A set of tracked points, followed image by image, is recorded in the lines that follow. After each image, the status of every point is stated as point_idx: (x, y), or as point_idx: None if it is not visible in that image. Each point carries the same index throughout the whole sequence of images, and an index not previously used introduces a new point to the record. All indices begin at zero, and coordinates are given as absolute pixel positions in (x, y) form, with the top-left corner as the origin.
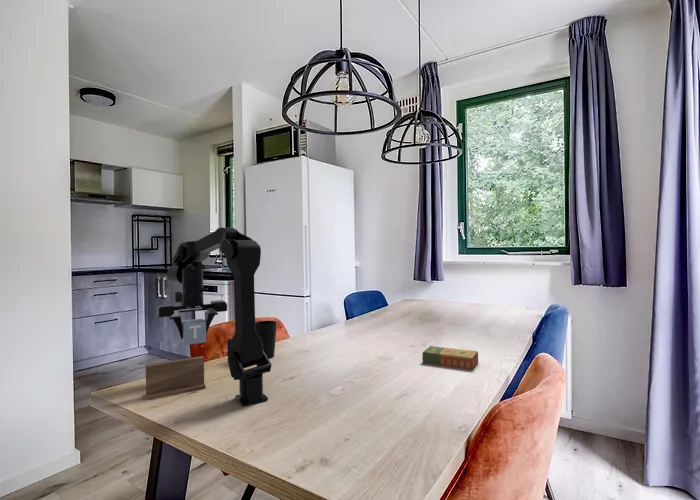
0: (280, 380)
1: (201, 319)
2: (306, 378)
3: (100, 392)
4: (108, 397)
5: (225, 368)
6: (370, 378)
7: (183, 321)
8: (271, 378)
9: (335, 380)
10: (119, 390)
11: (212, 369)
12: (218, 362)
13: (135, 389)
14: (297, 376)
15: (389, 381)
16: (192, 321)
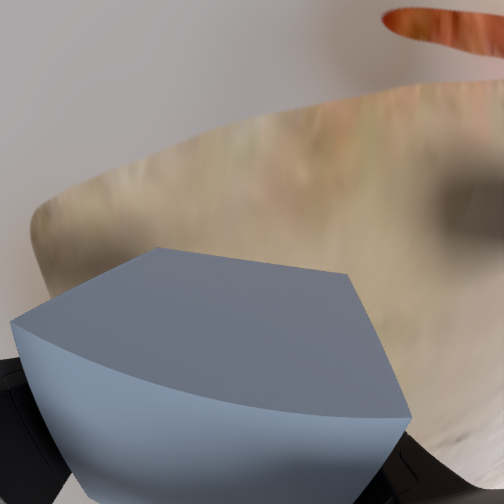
0: (435, 443)
1: (346, 476)
2: (468, 450)
3: (33, 224)
4: (47, 279)
5: (414, 244)
6: (500, 473)
7: (48, 405)
8: (436, 425)
9: (477, 470)
10: (59, 240)
11: (368, 217)
12: (421, 129)
13: (88, 263)
14: (472, 435)
15: (495, 486)
16: (165, 494)
